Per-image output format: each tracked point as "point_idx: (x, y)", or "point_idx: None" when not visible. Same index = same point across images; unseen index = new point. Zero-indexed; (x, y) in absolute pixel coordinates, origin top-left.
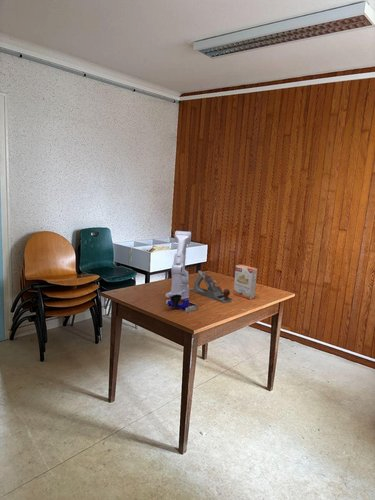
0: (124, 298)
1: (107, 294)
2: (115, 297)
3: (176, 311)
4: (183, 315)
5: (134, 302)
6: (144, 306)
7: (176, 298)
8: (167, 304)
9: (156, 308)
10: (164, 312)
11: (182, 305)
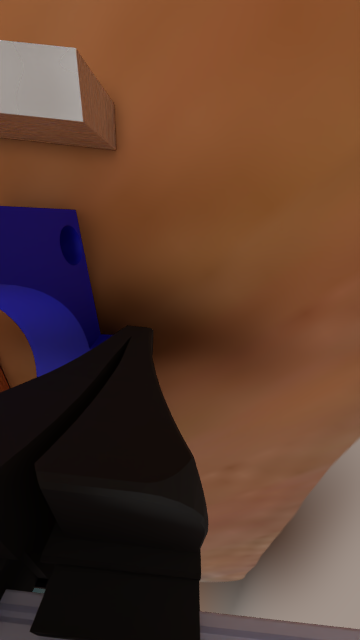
0: (237, 550)
1: (242, 578)
2: (252, 564)
3: (204, 262)
4: (297, 4)
5: (255, 521)
6: (283, 478)
7: (158, 451)
8: None
9: (267, 425)
10: (329, 331)
11: (54, 279)
